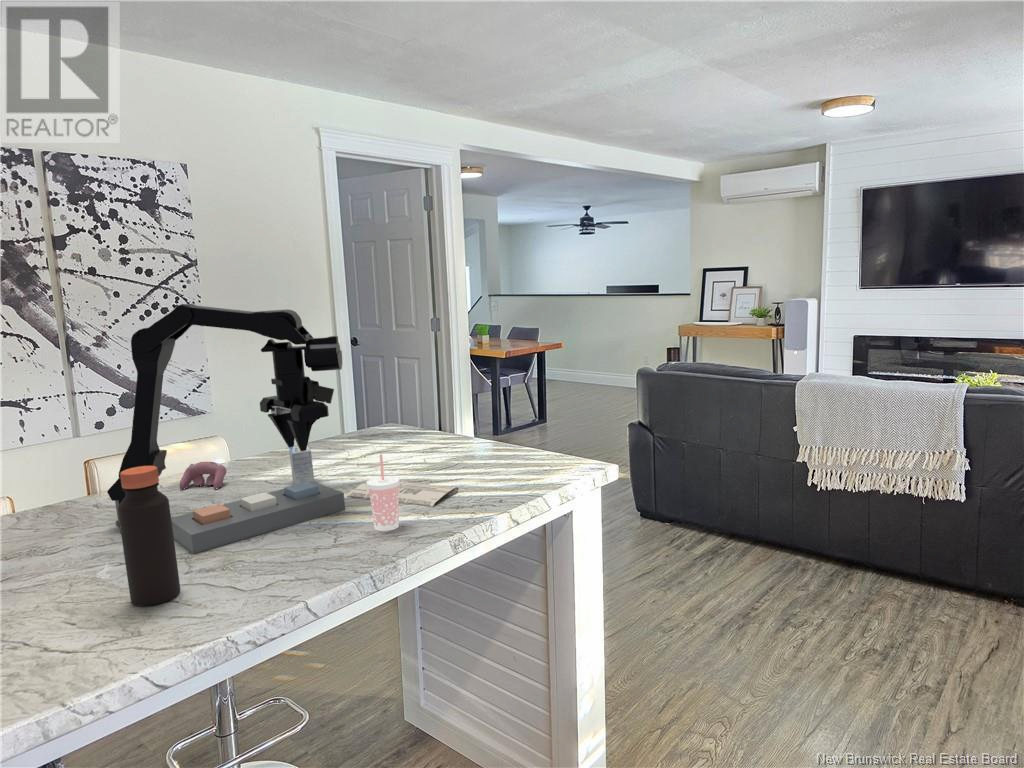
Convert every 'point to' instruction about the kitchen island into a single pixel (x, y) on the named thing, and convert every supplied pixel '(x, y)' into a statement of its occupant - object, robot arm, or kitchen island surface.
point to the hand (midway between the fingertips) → (297, 448)
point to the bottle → (147, 538)
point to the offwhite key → (258, 502)
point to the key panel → (255, 519)
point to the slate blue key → (301, 490)
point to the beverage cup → (384, 501)
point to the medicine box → (301, 465)
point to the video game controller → (201, 468)
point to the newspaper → (410, 493)
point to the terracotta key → (211, 514)
